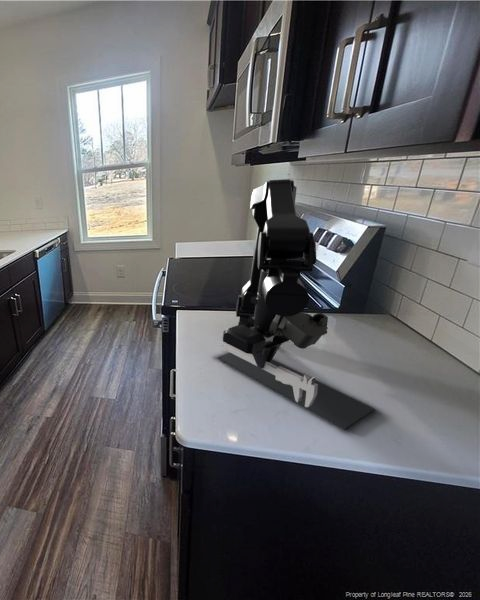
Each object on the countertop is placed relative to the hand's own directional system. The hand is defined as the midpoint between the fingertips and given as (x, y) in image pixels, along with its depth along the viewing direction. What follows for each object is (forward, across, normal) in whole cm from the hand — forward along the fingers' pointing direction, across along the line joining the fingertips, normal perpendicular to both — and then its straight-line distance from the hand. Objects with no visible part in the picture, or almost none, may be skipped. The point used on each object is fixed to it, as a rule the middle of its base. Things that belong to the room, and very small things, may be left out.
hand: (262, 366), depth 64 cm
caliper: (+2, 0, 0) cm, 2 cm away
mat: (+7, +9, 0) cm, 11 cm away
